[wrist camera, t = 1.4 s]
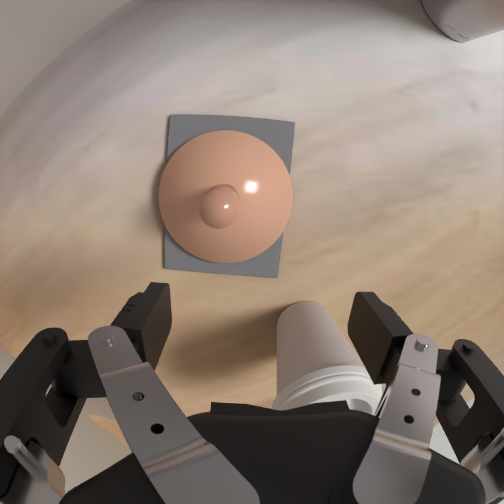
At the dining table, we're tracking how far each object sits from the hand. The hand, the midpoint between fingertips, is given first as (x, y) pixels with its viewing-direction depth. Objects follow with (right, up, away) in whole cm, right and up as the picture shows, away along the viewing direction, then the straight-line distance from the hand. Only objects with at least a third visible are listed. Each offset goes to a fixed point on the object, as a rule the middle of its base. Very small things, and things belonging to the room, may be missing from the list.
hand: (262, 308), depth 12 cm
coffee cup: (+6, -6, +21) cm, 23 cm away
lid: (-3, +8, +16) cm, 18 cm away
